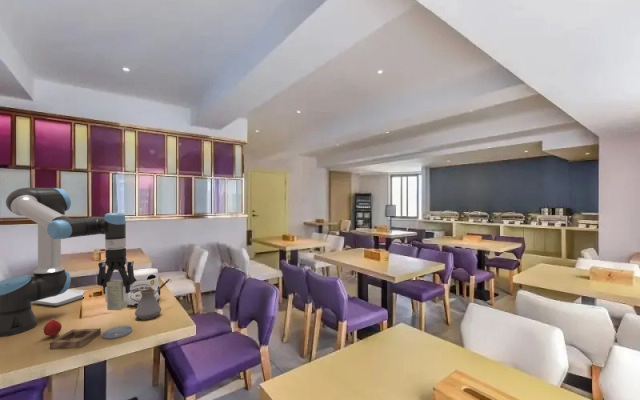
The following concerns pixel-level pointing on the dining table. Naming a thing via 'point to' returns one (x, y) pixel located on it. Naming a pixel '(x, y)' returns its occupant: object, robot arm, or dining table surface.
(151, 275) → the milk container
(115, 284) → the skincare box
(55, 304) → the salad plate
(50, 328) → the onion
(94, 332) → the pocket holder
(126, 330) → the coaster
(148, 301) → the coffee pot
